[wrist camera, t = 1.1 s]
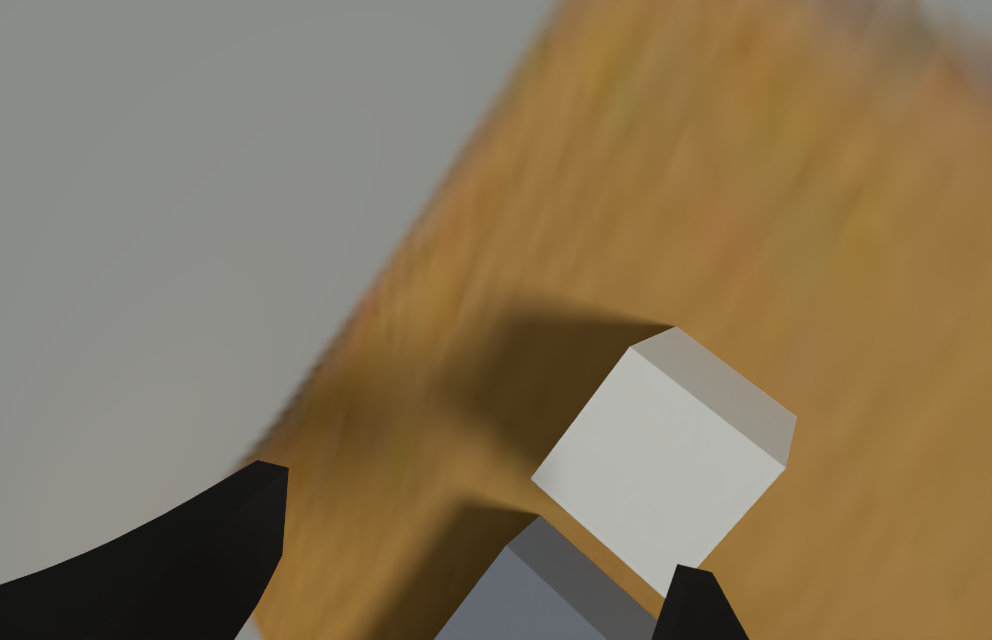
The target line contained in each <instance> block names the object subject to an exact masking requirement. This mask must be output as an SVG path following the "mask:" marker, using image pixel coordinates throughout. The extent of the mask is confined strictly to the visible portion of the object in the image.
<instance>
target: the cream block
mask: <svg viewBox="0 0 992 640" xmlns="http://www.w3.org/2000/svg"><path fill="white" fill-rule="evenodd" d="M796 419H797V417H796V416H795V415H794V414H792V413H791V412H790V411H788V410H787V409H786V408H784V407H783V406H782V405H780V404H779V403H778V402H776V401H775V400H774V399H772V398H771V397H770V396H768V395H767V394H766V393H764V392H763V391H762V390H760V389H759V388H758V387H756V386H755V385H754V384H752V383H751V382H750V381H748V380H747V379H746V378H744V377H743V376H742V375H740V374H739V373H738V372H736V371H735V370H734V369H732V368H731V367H730V366H728V365H727V364H726V363H724V362H723V361H722V360H720V359H719V358H718V357H716V356H715V355H714V354H712V353H711V352H710V351H708V350H707V349H706V348H705V347H703V346H702V345H701V344H699V343H698V342H697V341H695V340H694V339H693V338H691V337H690V336H689V335H687V334H686V333H685V332H683V331H682V330H681V329H679V328H678V327H677V326H676V327H673V328H671V329H669V330H666V331H664V332H662V333H660V334H657V335H655V336H653V337H650V338H648V339H646V340H644V341H641V342H639V343H637V344H634V345H632V346H630V347H629V348H628V350H627V351H626V352H625V354H624V355H623V356H622V358H621V359H620V360H619V362H618V363H617V364H616V366H615V367H614V368H613V370H612V371H611V372H610V374H609V375H608V376H607V378H606V379H605V380H604V382H603V383H602V384H601V386H600V387H599V388H598V390H597V391H596V392H595V394H594V395H593V396H592V398H591V399H590V400H589V402H588V403H587V404H586V406H585V407H584V408H583V410H582V411H581V412H580V414H579V415H578V416H577V418H576V419H575V420H574V422H573V423H572V424H571V426H570V427H569V428H568V430H567V431H566V432H565V434H564V435H563V436H562V438H561V439H560V440H559V441H558V443H557V444H556V445H555V447H554V448H553V449H552V451H551V452H550V453H549V455H548V456H547V457H546V459H545V460H544V461H543V463H542V464H541V465H540V467H539V468H538V469H537V471H536V472H535V473H534V475H533V476H532V477H531V480H532V481H533V482H534V483H536V484H537V485H538V486H539V487H540V488H541V489H542V490H543V491H545V492H546V493H547V494H548V495H549V496H550V497H551V498H552V499H554V500H555V501H556V502H557V503H558V504H559V505H560V506H561V507H563V508H564V509H565V510H566V511H567V512H568V513H569V514H571V515H572V516H573V517H574V518H575V519H576V520H577V521H578V522H580V523H581V524H582V525H583V526H584V527H585V528H586V529H587V530H589V531H590V532H591V533H592V534H593V535H594V536H595V537H596V538H598V539H599V540H600V541H601V542H602V543H603V544H604V545H605V546H607V547H608V548H609V549H610V550H611V551H612V552H613V553H615V554H616V555H617V556H618V557H619V558H620V559H621V560H622V561H624V562H625V563H626V564H627V565H628V566H629V567H630V568H631V569H633V570H634V571H635V572H636V573H637V574H638V575H639V576H640V577H642V578H643V579H644V580H645V581H646V582H647V583H648V584H649V585H651V586H652V587H653V588H654V589H655V590H656V591H657V592H658V593H660V594H661V595H662V596H663V597H664V598H666V595H667V592H668V589H669V586H670V583H671V581H672V578H673V575H674V572H675V569H676V566H677V564H680V565H684V566H688V567H692V568H697V567H698V566H699V565H700V564H701V562H702V561H703V560H704V559H705V558H706V557H707V556H708V555H709V553H710V552H711V551H712V550H713V549H714V548H715V547H716V546H717V544H718V543H719V542H720V541H721V540H722V539H723V538H724V537H725V535H726V534H727V533H728V532H729V531H730V530H731V529H732V528H733V526H734V525H735V524H736V523H737V522H738V521H739V520H740V519H741V518H742V516H743V515H744V514H745V513H746V512H747V511H748V510H749V509H750V507H751V506H752V505H753V504H754V503H755V502H756V501H757V500H758V498H759V497H760V496H761V495H762V494H763V493H764V492H765V491H766V489H767V488H768V487H769V486H770V485H771V484H772V483H773V482H774V480H775V479H776V478H777V477H778V476H779V475H780V474H781V473H782V471H783V470H784V469H785V468H786V464H787V460H788V455H789V451H790V446H791V442H792V437H793V433H794V428H795V424H796Z"/></svg>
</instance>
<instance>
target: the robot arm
mask: <svg viewBox="0 0 992 640" xmlns="http://www.w3.org/2000/svg"><path fill="white" fill-rule="evenodd" d="M288 471H289V468H287V467H283V466H279V465H275V464H271V463H267V462H263V461H259V460H257V461H255V462H253V463H252V464H250V465H248V466H246V467H245V468H243V469H241V470H239V471H238V472H236V473H234V474H233V475H231V476H229V477H228V478H226V479H224V480H222V481H221V482H219V483H217V484H216V485H214V486H212V487H211V488H209V489H207V490H206V491H204V492H202V493H200V494H199V495H197V496H195V497H193V498H192V499H190V500H188V501H187V502H185V503H183V504H181V505H179V506H177V507H176V508H174V509H172V510H170V511H169V512H167V513H165V514H163V515H162V516H160V517H158V518H156V519H154V520H152V521H150V522H148V523H146V524H144V525H142V526H140V527H138V528H136V529H134V530H132V531H130V532H128V533H127V534H124V535H122V536H120V537H118V538H116V539H114V540H112V541H110V542H108V543H106V544H104V545H101V546H99V547H97V548H95V549H93V550H91V551H88V552H86V553H84V554H81V555H79V556H76V557H74V558H71V559H69V560H67V561H64V562H62V563H59V564H57V565H54V566H52V567H49V568H47V569H44V570H41V571H39V572H36V573H33V574H30V575H27V576H24V577H21V578H18V579H16V580H13V581H10V582H7V583H4V584H1V585H0V640H234V639H235V637H236V636H237V634H238V633H239V631H240V630H241V628H242V627H243V625H244V624H245V622H246V621H247V619H248V618H249V616H250V615H251V613H252V612H253V610H254V609H255V607H256V606H257V604H258V602H259V600H260V598H261V597H262V595H263V593H264V591H265V589H266V587H267V585H268V583H269V581H270V579H271V577H272V575H273V573H274V571H275V569H276V567H277V565H278V563H279V561H280V559H281V557H282V552H283V538H284V525H285V511H286V498H287V484H288ZM651 640H749V638H748V636H747V635H746V633H745V631H744V629H743V628H742V626H741V624H740V622H739V620H738V619H737V617H736V615H735V613H734V611H733V609H732V608H731V606H730V604H729V602H728V600H727V598H726V597H725V595H724V593H723V591H722V589H721V587H720V585H719V584H718V582H717V580H716V578H715V577H714V575H713V573H712V572H709V571H705V570H700V569H696V568H692V567H688V566H684V565H680V564H677V566H676V569H675V572H674V575H673V578H672V581H671V583H670V586H669V589H668V592H667V595H666V598H665V601H664V604H663V607H662V610H661V613H660V615H659V618H658V621H657V624H656V627H655V630H654V633H653V636H652V639H651Z"/></svg>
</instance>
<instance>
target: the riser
mask: <svg viewBox="0 0 992 640" xmlns="http://www.w3.org/2000/svg"><path fill="white" fill-rule="evenodd" d="M656 624H657V620H656V619H655V618H654V617H653V616H651V615H650V614H649V613H648V612H647V611H646V610H645V609H644V608H643V607H641V606H640V605H639V604H638V603H637V602H636V601H635V600H634V599H633V598H631V597H630V596H629V595H628V594H627V593H626V592H625V591H624V590H623V589H621V588H620V587H619V586H618V585H617V584H616V583H615V582H614V581H613V580H611V579H610V578H609V577H608V576H607V575H606V574H605V573H604V572H603V571H601V570H600V569H599V568H598V567H597V566H596V565H595V564H594V563H593V562H591V561H590V560H589V559H588V558H587V557H586V556H585V555H584V554H583V553H581V552H580V551H579V550H578V549H577V548H576V547H575V546H574V545H573V544H571V543H570V542H569V541H568V540H567V539H566V538H565V537H564V536H563V535H561V534H560V533H559V532H558V531H557V530H556V529H555V528H554V527H553V526H551V525H550V524H549V523H548V522H547V521H546V520H545V519H544V518H543V517H541V516H539V517H538V518H537V519H535V520H534V521H533V522H532V523H531V524H530V525H529V526H527V527H526V528H525V529H524V530H523V531H522V532H521V533H519V534H518V535H517V536H516V537H515V538H514V539H513V540H512V541H510V542H509V543H508V544H507V545H506V546H505V547H504V549H503V550H502V551H501V553H500V554H499V555H498V557H497V558H496V559H495V560H494V562H493V563H492V564H491V566H490V567H489V568H488V570H487V571H486V572H485V573H484V575H483V576H482V577H481V579H480V580H479V581H478V583H477V584H476V585H475V587H474V588H473V589H472V590H471V592H470V593H469V594H468V596H467V597H466V598H465V600H464V601H463V602H462V604H461V605H460V606H459V607H458V609H457V610H456V611H455V613H454V614H453V615H452V617H451V618H450V619H449V621H448V622H447V623H446V624H445V626H444V627H443V628H442V630H441V631H440V632H439V634H438V635H437V636H436V637H435V639H434V640H651V639H652V636H653V633H654V630H655V627H656Z"/></svg>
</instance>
